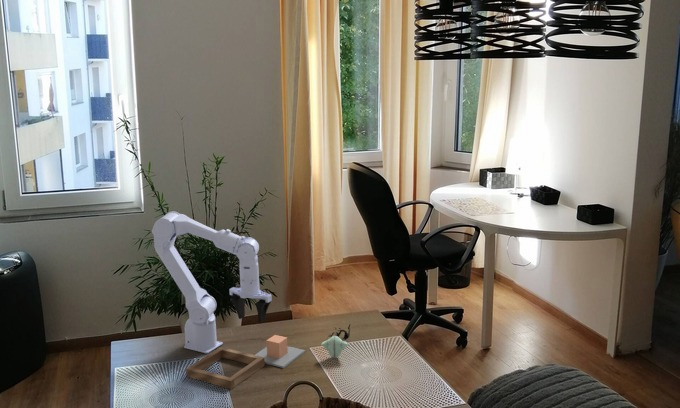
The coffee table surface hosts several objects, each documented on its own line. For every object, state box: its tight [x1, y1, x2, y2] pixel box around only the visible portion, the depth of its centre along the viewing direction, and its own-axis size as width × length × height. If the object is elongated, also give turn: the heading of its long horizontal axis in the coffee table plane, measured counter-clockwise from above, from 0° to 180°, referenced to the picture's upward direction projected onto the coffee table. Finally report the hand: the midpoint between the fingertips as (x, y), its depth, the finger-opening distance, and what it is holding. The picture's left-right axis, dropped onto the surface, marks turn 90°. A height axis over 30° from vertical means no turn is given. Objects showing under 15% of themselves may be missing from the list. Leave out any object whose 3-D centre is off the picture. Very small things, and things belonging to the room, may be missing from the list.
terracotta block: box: [266, 334, 288, 359], centre depth 206 cm, size 4×4×5 cm
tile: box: [254, 345, 306, 369], centre depth 207 cm, size 12×12×1 cm
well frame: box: [185, 346, 266, 390], centre depth 198 cm, size 16×16×2 cm
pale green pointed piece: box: [320, 335, 348, 359], centre depth 205 cm, size 8×4×7 cm, turn 86°
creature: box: [326, 323, 351, 341], centre depth 216 cm, size 8×5×8 cm
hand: (251, 319), depth 210 cm, fingers open, 7 cm apart
